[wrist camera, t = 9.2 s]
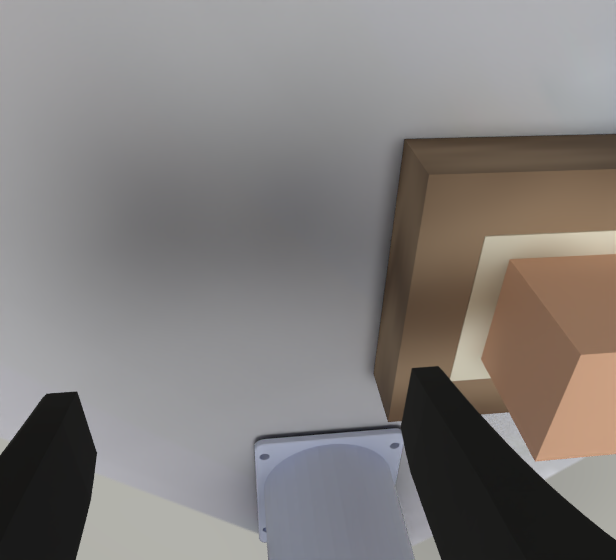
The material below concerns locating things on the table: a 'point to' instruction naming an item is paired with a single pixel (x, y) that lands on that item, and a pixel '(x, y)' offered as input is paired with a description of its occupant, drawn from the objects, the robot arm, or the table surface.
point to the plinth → (481, 245)
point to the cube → (557, 353)
